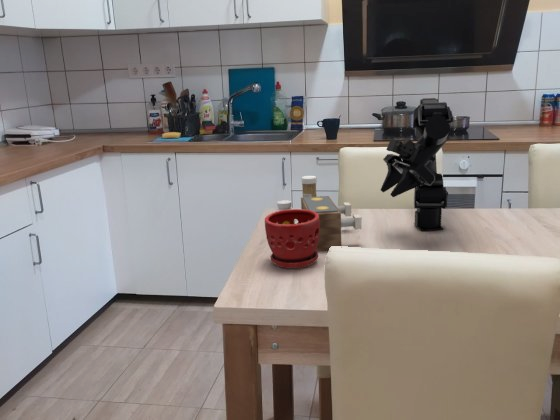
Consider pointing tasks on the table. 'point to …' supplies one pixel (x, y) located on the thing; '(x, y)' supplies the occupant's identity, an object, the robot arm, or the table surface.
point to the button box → (327, 228)
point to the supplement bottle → (284, 208)
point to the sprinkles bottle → (309, 186)
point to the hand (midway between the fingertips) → (386, 193)
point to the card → (320, 204)
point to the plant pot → (293, 237)
